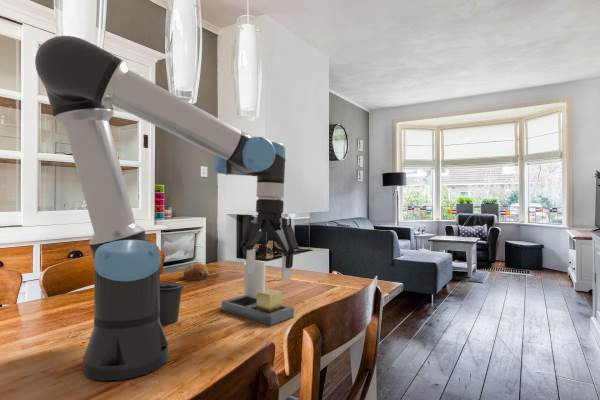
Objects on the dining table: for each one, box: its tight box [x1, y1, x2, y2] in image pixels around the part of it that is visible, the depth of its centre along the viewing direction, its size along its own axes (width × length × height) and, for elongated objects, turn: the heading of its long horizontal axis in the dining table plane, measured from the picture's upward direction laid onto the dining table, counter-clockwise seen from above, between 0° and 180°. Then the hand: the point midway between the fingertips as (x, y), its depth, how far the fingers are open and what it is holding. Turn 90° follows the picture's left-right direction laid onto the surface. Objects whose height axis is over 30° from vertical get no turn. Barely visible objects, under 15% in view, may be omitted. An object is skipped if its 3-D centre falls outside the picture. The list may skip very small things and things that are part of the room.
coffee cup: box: [160, 281, 184, 326], centre depth 95 cm, size 8×8×10 cm
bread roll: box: [183, 262, 210, 281], centre depth 147 cm, size 10×10×8 cm
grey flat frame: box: [221, 294, 295, 326], centre depth 102 cm, size 9×20×2 cm, turn 51°
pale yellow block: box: [257, 288, 283, 313], centre depth 99 cm, size 5×5×7 cm
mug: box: [243, 261, 266, 298], centre depth 116 cm, size 10×7×12 cm, turn 157°
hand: (267, 276), depth 99 cm, fingers open, 13 cm apart
